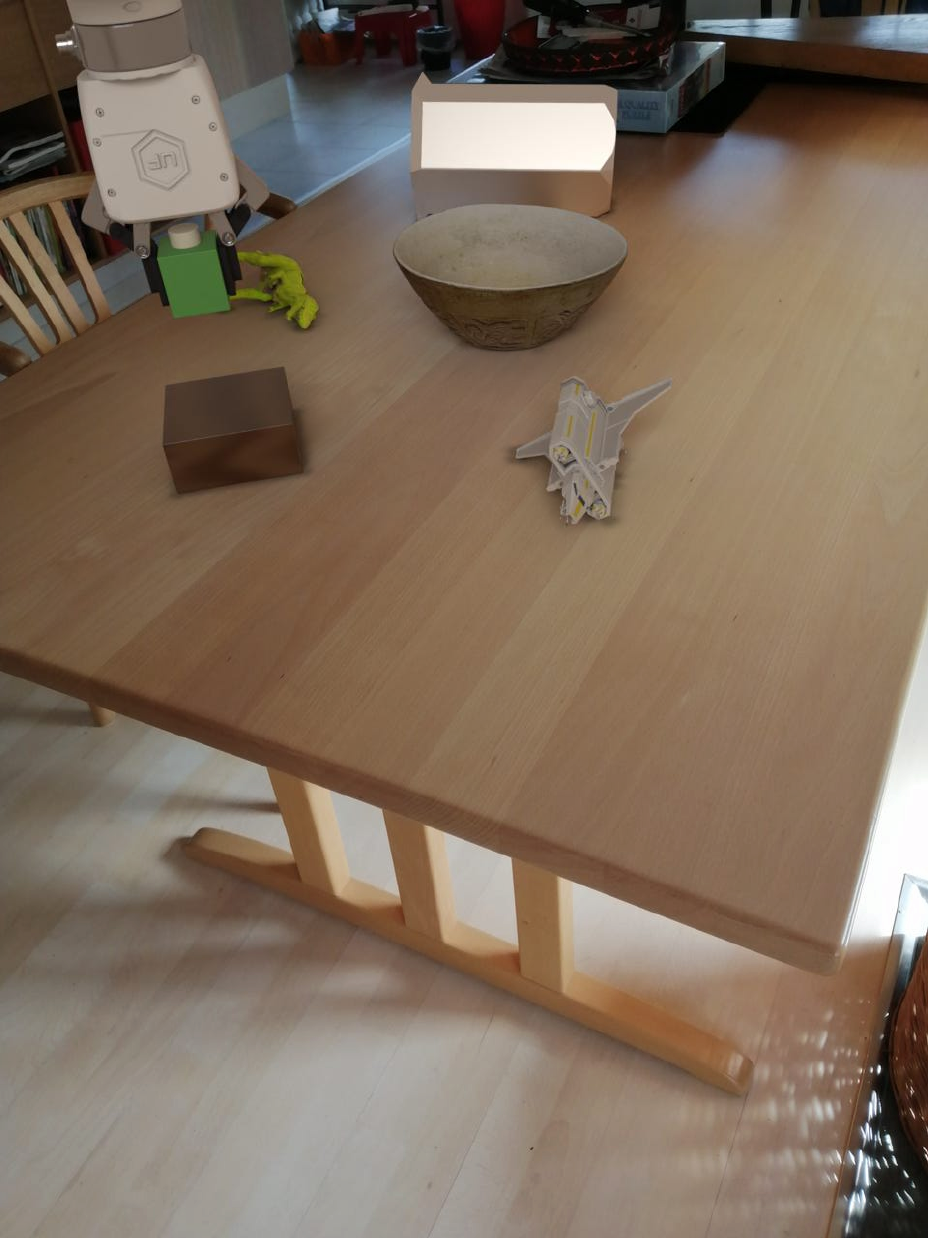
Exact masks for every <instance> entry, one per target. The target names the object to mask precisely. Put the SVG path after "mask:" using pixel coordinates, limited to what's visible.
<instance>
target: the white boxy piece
mask: <svg viewBox="0 0 928 1238" xmlns="http://www.w3.org/2000/svg"><path fill="white" fill-rule="evenodd" d="M618 94H619V93H618V89H616V88H614V87H612V86H609V85H607V84H538V83H537V84H534V83H533V84H532V83H531V84H530V83H529V84H526V83H525V84H524V83H523V84H522V83H520V84H518V83H517V84H515V83H513V84H512V83H511V84H509V83H507V84H505V83H503V84H502V83H498V84H497V83H432V82H431V81H430V80H429V78H428V76H427V75H426V74H425V73H424V71H422V72H421V73H420V75H419V78H418V79H417V81H416V82H415V84H414V86H413V87H412V90H411V105H410V106H411V107H410V108H411V110H410V145H409V146H410V147H409V148H410V150H409V151H410V152H409V176H410V182H411V189H412V194H413V200H414V207H415V213H416V218H417V221H420V220H421V219H423V218H425V217H427V216H429V215H432V214H435V213H439V212H441V211H443V210H447V209H452V208H456V207H459V206H465V205H477V204H514V205H531V206H543V207H552V208H557V209H562V210H568V211H573V212H577V213H582V214H584V215H587V216H590V217H592V218H597V217H599V216H602V215H603V214H605V213H608V212H609V211H610V210H611V201H612V191H613V180H614V164H615V150H616V136H617V120H618V119H617V118H618V96H619V95H618Z"/></svg>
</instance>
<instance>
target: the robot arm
mask: <svg viewBox="0 0 928 1238" xmlns="http://www.w3.org/2000/svg"><path fill="white" fill-rule="evenodd" d="M66 4H67V7H68V10H69V14H70V17H71V21H72V24H71V25H70V26H71V27H70V29H69V30H65V33H60V34H59V33H58V34H55V35H54V39H55V44H56V47H57V50H58V51H57V52H58V53H59V56H60V57H69V56H71V58H77V60H78V61H79V62H82V66H83V68H85V69H83V70H82V71H81V72H79V74H78V75H77V76H76V84H77V94H78V100H79V108H80V113H81V114H80V115H81V119H82V124H83V128H84V133H85V137H86V142H87V146H88V151H89V154H90V160H91V163H92V167H93V171H94V174H95V175H94V176H95V178H94V180H93V183H92V186H91V188H90V190H89V193H88V196H87V199H86V201H85V203H84V206H83V209H82V212H81V217H80V218H81V221H82V222H83V224H84V225H86V226H89V227H90V228H93V229H94V230H96V231H98V232H101V233H103V234H106V235H108V236H110V237H111V238H112V239H113V240H115V241H116V242H117V243H120V244H121V245H122V246H124V247H126V248H127V249H129V250H131V251H132V252H133V253H134V254H135V256H136V257H137V258H139V259H141V263H142V266H143V269H144V274H145V276H146V280H147V284H148V288H149V291H150V293H151V294H152V295H153V294H158V295H159V299H160V302H161V305H162V307H170V303H169V300H168V296H167V293H166V289H165V286H164V282H163V278H162V275H161V271H160V268H159V264H158V260H157V254H158V243H156V240H155V239H154V238H152V222H159V221H166V220H173V219H180V218H186V217H193V216H200V215H206V214H207V216H208V218H209V220H210V222H211V224H212V225H213V227H214V230H216V234H217V251H218V256H219V260H220V264H221V268H222V272H223V277H224V281H225V285H226V289H227V293H228V295H230V296H235V295H236V289H237V286H236V282H238V281H243V273H242V268H241V264H240V260H239V259H238V255H237V252H238V251H237V246H236V242H237V238H238V237H239V236H240V234H241V233H242V231H243V229H244V228H246V226H247V223H248V222H249V221H250V219H251V217H252V215H253V214H254V213H255V212H257V211H258V210H259V209H260V207H262V206H263V204H264V203H266V201H267V200H268V199H269V198H270V195H271V194H270V187H269V185H268V183H266V182H265V181H264V180H263V179H262V178H261V176H259V174H257V173H256V172H255V171H254V170H253V169H252V168H251V167H250V166H249V165H248V164H247V163H246V162H245V161H244V160H243V159H242V158H241V157H240V156H239V154H237V153H236V152H235V151H234V149H233V145H232V141H231V138H230V132H229V130H228V126H227V123H226V119H225V116H224V111H223V107H222V105H221V101H220V98H219V95H218V92H217V89H216V87H215V83H214V81H213V78H212V75H211V73H210V70H209V68H208V66H207V63H206V61H205V59H204V57H203V56H202V55H200V54H196V53H194V52H193V46H192V42H191V38H190V34H189V29H188V25H187V21H186V16H185V12H184V7H183V2H182V0H66ZM240 185H241V186H242V187H243V188H244V189H245V193H244V194H243V195H242V197H241V198H240V195H241V194H240V193H241V188H240V187H241V186H240ZM230 208H231V209H230ZM228 209H230V210H228Z"/></svg>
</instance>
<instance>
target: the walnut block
mask: <svg viewBox="0 0 928 1238" xmlns="http://www.w3.org/2000/svg"><path fill="white" fill-rule="evenodd" d="M163 405H164V406H163V407H164V408H163V423H162V424H163V427H162V448H163V451H164V454H165V458H166V462H167V464H168V467H169V470H170V474H171V477H172V480H173V483H174V487H175V490H176V494H184V493H191V492H197V491H203V490H209V489H215V488H219V487H225V486H226V487H227V486H232V485H238V484H243V483H248V482H256V481H262V480H267V479H274V478H280V477H286V476H291V475H297V474H303V465H302V458H301V451H300V445H299V439H298V432H297V425H296V419H295V414H294V413H295V412H294V408H293V403H292V398H291V393H290V388H289V384H288V379H287V374H286V369H285V366H278V367H271V368H265V369H258V370H253V371H252V370H251V371H246V372H239V373H233V374H226V375H221V376H213V377H207V378H202V379H195V380H188V381H181V382H176V383H170V384H165V385H164V404H163Z"/></svg>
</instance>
